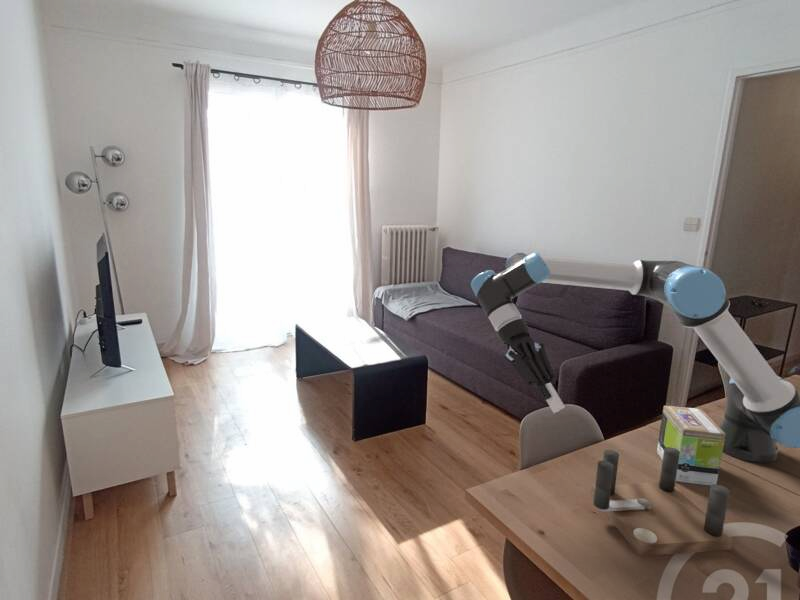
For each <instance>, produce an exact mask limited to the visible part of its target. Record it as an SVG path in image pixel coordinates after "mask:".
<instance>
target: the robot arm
mask: <svg viewBox="0 0 800 600" xmlns="http://www.w3.org/2000/svg"><path fill="white" fill-rule="evenodd" d="M541 283H545V284H555V285H557V284H558V285H563V286H564V285H565V286H578V287H587V288H589V287H590V288H600V289H609V290H617V291H619V290H620V291H628V292H629V293H630V294H631V295H635V296H642V297H647V298H650V299H653V300H656V301H658V302H659V303H661V304H663V305H665V306H666V307H668V309H670V311H671V312H672V314H673V315H674V316H675V317H676V319H677V320H678V322H680V324H681V325H682V326H683V327H684V328H688V329H689V328H690V329H693V330H694V331H695V333H696V334H697V336H699V338H700V339H701V340H702V342H703V343H704V344H705V346H706V347H707V349H708V350H709V351H710V353H711V354H712V355H713V356H714V357H715V359H716V361H718V363H719V364H720V366H721V367H722V369H724V371H725V372H726V374H727V375H728V376H729V377H730V379H729V382H728V389H727V390H728V391H727V396H726V403H725V409H724V414H723V415H724V416H723V418H722V421H721V422H720V424H719V425H718V427H720V429H721V430H722V431H723V432H724V433H725V441H724V446H723V451H722V453H725V454H727V455H729V456H731V457H734V458H737V459H740V460H744V461H747V462H752V463H753V462H754V463H773V462H774V461H776V460H777V457H778V454H779V448H778V446H777V443H778V444H780V445H781V446H783V447H786V448H791V449H792V448H793V449H800V393H799V391H798V390H797V388H796V387H795V386H794V385H793V384H792V383H791V382H789V381H787V380H784V379H783V378H782V377H781V376H778V375H777V374H776V372H775V371H774V369H773V368H772V367H771V366H770V364H769V363H768V362H767V360H766V359H765V358H764V356H763V355H762V354H761V353H760V351H759V350H758V348H757V347H756V346H755V344H754V343H753V342H752V340H751V339H750V338H749V336H748V335H747V334H746V333H745V331H744V330H743V328H742V327H741V326H740V325H739V323H738V322H737V321H736V319H735V318H734V317H733V315H732V314H731V313H730V311H729V308H730V305H731V302H730V299H729V298H728V297H727V296H726V295H727V290H726V287H725V284H724V282H723V280H722V279H721V278H720V277H719V276H718V275H717V274H715V273H714V272H713V271H711V270H710V269H707V268H705V267H702V266H697V265H693V264H690V263H686V262H683V261H680V260H642V259H641V260H640V259H636V260H634V261H633V262H632V263H631V262H622V261H609V260H607V261H606V260H596V259H595V260H593V259H584V258H574V257H573V258H570V257H561V256H559V257H558V256H547V255H540V253H539V252H536V251H535V252H532V253H530V254H526V253H524V252H516V253H513V254H511V255H510V256H508V258H507V260H506V263H505V269H504V270H502V271H500V272H498V273H497V272H495V270H492V269H489V270H485V271H483V272H480V273H478V274H477V275H476V276H475V277H473V279H472V280H471V283H470V287H471V289H472V292H473V294H474V295H475V298H476V299H477V301H478V303H479V304H480V307H482V310H483V311H484V313H485V315H486V317H487V318H488V320H489V321H490V323H491V325H492V327H493V329H494V331H495V332H497V336H498V338H499V339H500V341H501V343H502V345H504V346H506V348H507V353H505V355H503V358H504V359H505V361H508V362H509V363H510V364H511V365H512V367H513V369H515V370H516V372H517V373H518V374H519V375H520V377H521V378H522V379H523V380H524V382H525V383H526V385H527V386H528V387H529V388H530V389H531V388H532V389H533V390H534V391H536V390H538V391H539V393H540V394H541V396H542V398H543V399H544V401H546V403H547V404H548V406H549V408H550V410H551V411H552V413H553V414H555V413H558V412H560V411H561V410H563V409H565V408H566V406H565V405H564V403H563V401H562V399H561V398H560V396H559V393H558V391H557V389H556V387H555V385H553V381H555V378H556V375H555V371H554V370H553V367H552V365H551V363H550V360H549V357H548V355H547V353H546V350H545V344H544V343H543V342H540V343H537V342H535V340H534V339H533V338H532V337H531V336H530V332H531V331H530V328H529V327H528V325H527V322H526V321H525V320H524V319H522V315H521V313H520V311H519V309H518V308H517V306H516V304H515V303H514V301H513V299H514V298H516V297H517V296H519V295H521V294H522V293H524V292H526V291H528V290H529V289H530V290H531V289H532V288H534V287H535V286H537V285H539V284H541Z"/></svg>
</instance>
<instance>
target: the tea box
mask: <svg viewBox="0 0 800 600" xmlns="http://www.w3.org/2000/svg"><path fill="white" fill-rule="evenodd" d="M724 441H725V433H724V432H723V431H722V430H721V429H720V427H719V425H718V424H717V423H715V422H714V421H713V419H712V418H711V417H710V416H708V414H707V413H706V412H705V411H704V410H703V409H702V408H694V407H684V406H683V407H682V406H674V405H673V406H672V405H663V409H662V413H661V422H660V429H659V435H658V442H657V449H656V453H657V454H658V456H659V457H660V458H661V460H662V461H663V454H664V448H666V447H671V448H675V449H677V450H678V451H679V452H680V454H679V461H678V468H677V474H676V481H675V482H680V483H685V484H687V483H688V484H693V485H703V486H710V487H711V485H713V484H717V483H718V478H719V473H720V472H719V471H720V467H721V461H722V457H723V446H724ZM717 485H718V484H717Z"/></svg>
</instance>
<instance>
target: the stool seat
mask: <svg viewBox="0 0 800 600" xmlns="http://www.w3.org/2000/svg"><path fill="white" fill-rule="evenodd" d="M679 454H680V452H679V451H678V450H677V449H675V448H671V447H666V448H664V454H663V460H662V461H661V462H662V463H661V467H660V468H661V470H660V476H659V482H658V481H657V482H643V483H642V482H640V483H622V484H616V483H617V476H618V475H617V474H618V467H619V466H618V465H619V458H620V455H619V453H618V452H617V451H615V450H614V449H613V450H611V449H606V450H604V451H603V459H602V461H608V462H610V463H612V464H613V465H614V468H613V477H612V486H611V494H610V501H617V500H635V499H639V498H644V499H646V500H648V501H649V502H650V505H651V509H649V510H642V509H639V510H622V511H605V512H604V513H605V515H606V516H607V517H608V519H609V520H610V521H611V522H612V524H614V526H615V528H617V530H618V531H619V532H620V534H621V535H622V536H623V538H624V539H625V540H626V541H627V542H628V544H629V545H630V546H631V547H632V549H633V550H634V551H635V552H636V554H637V555H638V556H639V557H643V556H657V555H658V556H659V555H672V554H674V555H675V554H687V553H689V554H690V553H703V552H714V551H715V552H716V551H717V552H718V551H731V550H732V548H733V542H734V539H733V538H732V536H730V535H729V534H728V533H727V532H726V531H725V530H724V526H725V525H724V524H725V520H726V519H725V518H726V514H727V508H728V502H729V496H730V490H729V489H728V488H727V487H725V486H724V485H721V484H713V485H711V486H710V487H709V488H710V489H709V494H708V500H707V506H706V507H707V508H706V513H705V512H704V511H703V510H701V508H699V507H698V506H697V505H696V504H695V503H694V502H693V501H691V500H690V498H688V497H687V495H685V494H683V492H681V491H680V490H679V489H678V488H677V487H676V482H677V481H676V474H677V468H678V461H679ZM594 494H595V485H592V486H591V492H590V496H591V497H592V499H594Z"/></svg>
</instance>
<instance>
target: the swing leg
mask: <svg viewBox="0 0 800 600" xmlns="http://www.w3.org/2000/svg"><path fill="white" fill-rule="evenodd" d="M596 466H597V467H596V476H595V485H594V486H595V494H594V498H593V506H595V508H597V509H598V510H600V512H601V513H602V512H604V513H605V511H622V510H639V509H642V510H649V509H651V505H650V502H649V501H648V500H646V499H644V498H639V499H635V500H617V501H610V494H611V486H612V477H613V468H614V465H613V464H612V463H610V462H608V461H603V460H599V461H598V462H597V465H596Z"/></svg>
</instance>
